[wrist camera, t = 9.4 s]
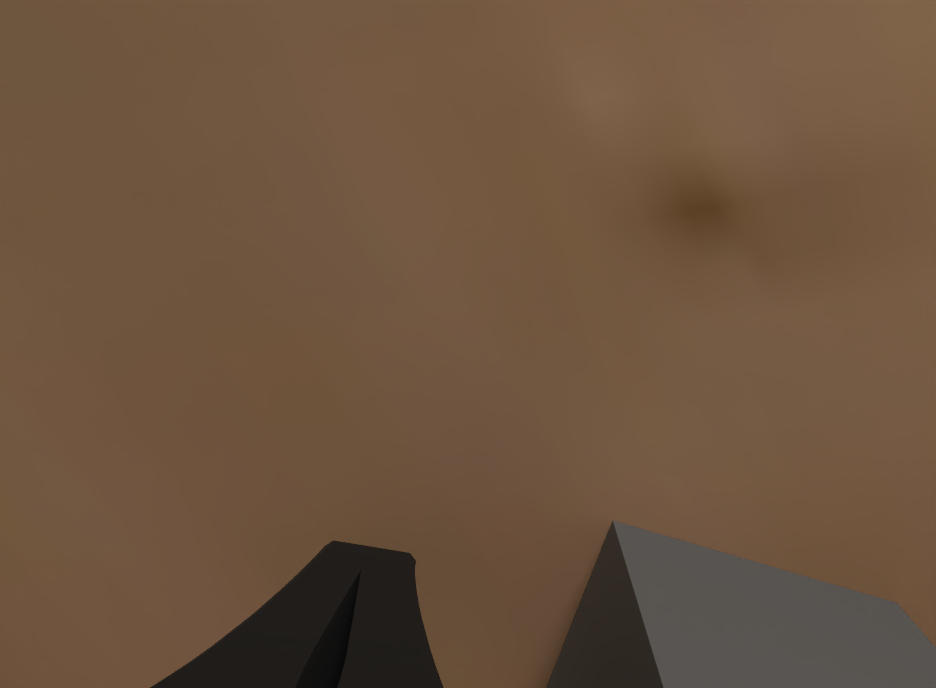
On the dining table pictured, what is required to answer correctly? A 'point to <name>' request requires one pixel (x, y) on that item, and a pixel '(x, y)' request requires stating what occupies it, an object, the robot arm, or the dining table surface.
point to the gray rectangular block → (730, 625)
